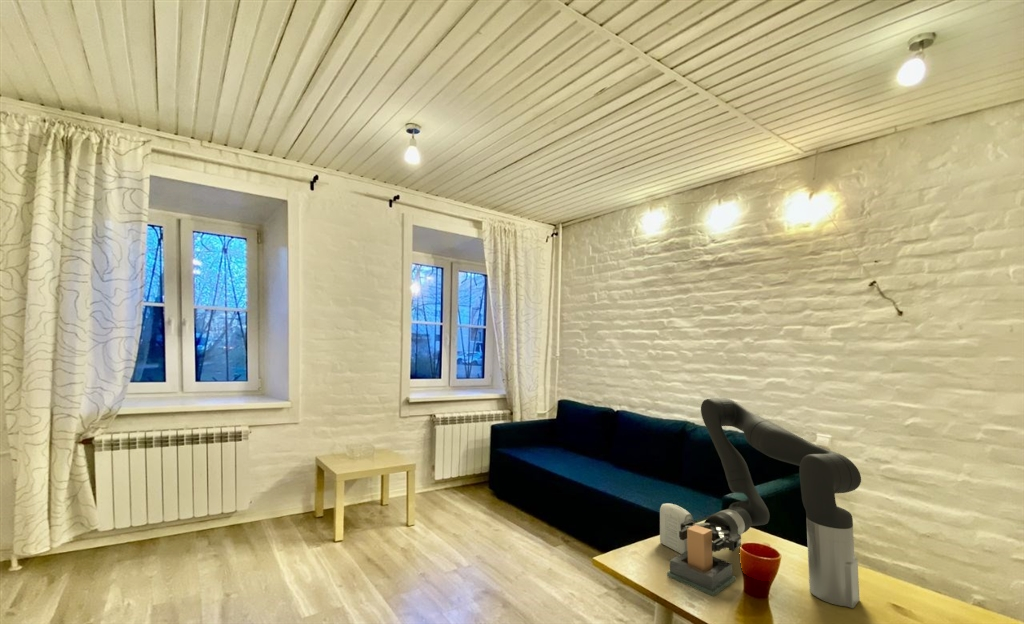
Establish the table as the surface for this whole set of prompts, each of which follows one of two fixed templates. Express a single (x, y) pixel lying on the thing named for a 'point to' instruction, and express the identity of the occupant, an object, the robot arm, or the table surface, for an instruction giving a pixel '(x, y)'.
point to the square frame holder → (702, 574)
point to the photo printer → (673, 526)
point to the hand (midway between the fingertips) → (696, 541)
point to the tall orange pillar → (700, 547)
